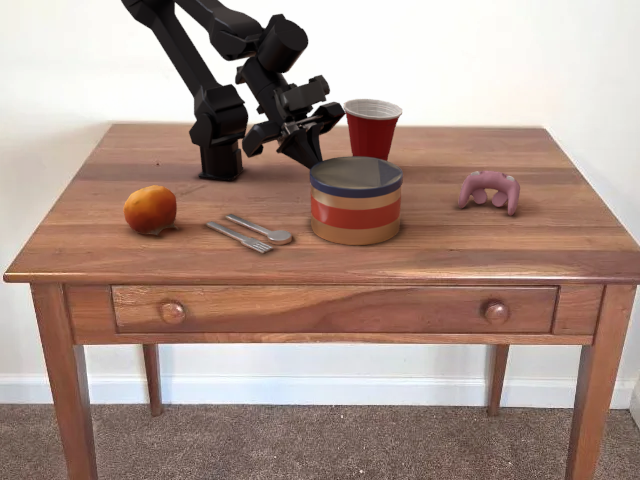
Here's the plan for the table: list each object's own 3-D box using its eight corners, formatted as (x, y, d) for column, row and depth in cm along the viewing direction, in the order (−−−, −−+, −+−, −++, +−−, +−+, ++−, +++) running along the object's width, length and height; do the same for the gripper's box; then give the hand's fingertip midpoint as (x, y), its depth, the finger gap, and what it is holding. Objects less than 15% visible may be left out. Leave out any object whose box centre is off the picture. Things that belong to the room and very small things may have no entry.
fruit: (161, 238, 110) (135, 188, 108) (133, 251, 115) (107, 204, 113) (199, 219, 116) (174, 172, 114) (170, 233, 121) (146, 188, 119)
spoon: (219, 220, 119) (219, 216, 119) (237, 214, 122) (236, 209, 121) (279, 247, 112) (278, 242, 111) (296, 239, 114) (296, 234, 114)
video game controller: (516, 217, 126) (524, 176, 125) (514, 215, 122) (522, 172, 121) (459, 209, 129) (466, 168, 128) (455, 206, 124) (462, 164, 123)
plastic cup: (394, 182, 135) (398, 116, 128) (336, 177, 136) (336, 111, 130) (403, 162, 144) (407, 99, 137) (349, 157, 145) (349, 95, 139)
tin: (299, 239, 114) (297, 183, 109) (324, 204, 126) (324, 152, 121) (390, 250, 111) (392, 193, 106) (407, 213, 123) (410, 161, 118)
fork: (203, 227, 117) (203, 224, 117) (214, 222, 119) (214, 220, 118) (262, 254, 110) (262, 250, 109) (273, 249, 111) (273, 246, 111)
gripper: (248, 69, 107) (305, 162, 107) (337, 50, 119) (388, 133, 119) (218, 113, 116) (270, 199, 115) (303, 91, 127) (351, 168, 127)
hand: (322, 173), depth 119 cm, fingers closed, pressing on tin
